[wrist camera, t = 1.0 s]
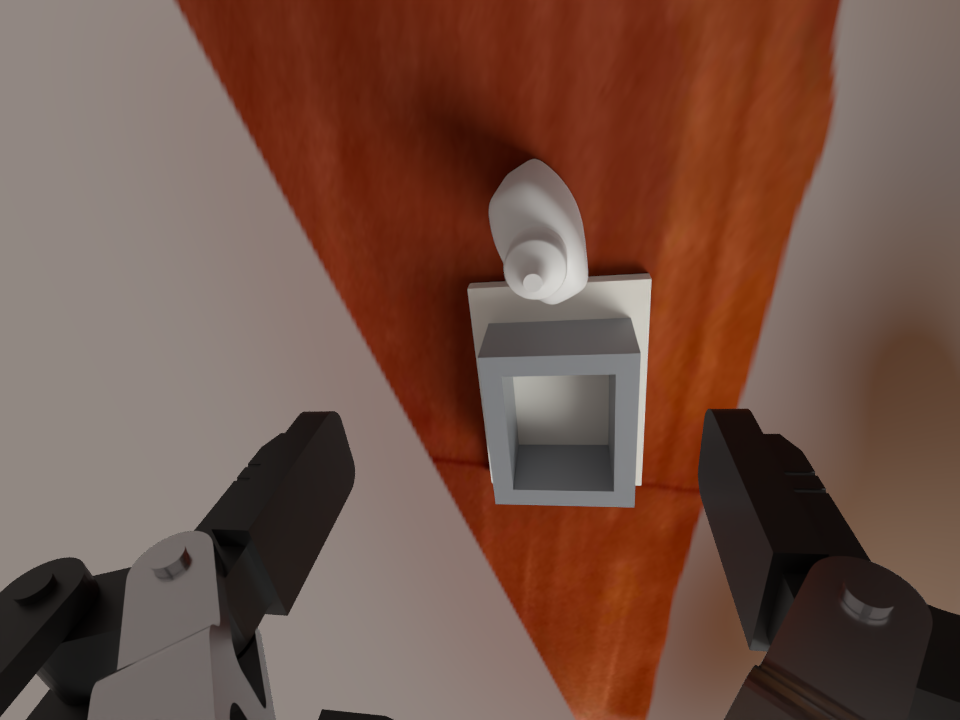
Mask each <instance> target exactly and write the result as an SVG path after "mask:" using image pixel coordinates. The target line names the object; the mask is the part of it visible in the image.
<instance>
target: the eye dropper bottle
mask: <svg viewBox="0 0 960 720" xmlns="http://www.w3.org/2000/svg"><path fill="white" fill-rule="evenodd" d="M489 221H490V227H491V231H492V235H493V239H494V242H495V245H496V248H497V250H498V253H499V255H500V257H501V259H502V261H503V263H504V267H503V268H504V270H503V271H504V275H505V277H504V278H506V280H505V281H507V284H509V285H508V286H509V287H510V289H512V291H515V293H517V295H520V296H522V297H523V298H526V299H529V300H530V299H532V300H533V299H535V300H537V299H538V300H540V301H542V302H544V303H547V304H551V305H552V304H558V303H560V302H562V301H564V300H566V299H568V298H570V297H572V296H574V295H576V294H577V293H579V292H580V291H582V290H583V289H584V288H585V287H586V284H587V280H588V263H587V254H586V245H585V237H584V229H583V223H582V219H581V215H580V212H579V209H578V206H577V204H576V202H575V199H574V197H573V195H572V194H571V192H570V190H569V189H568V187H567V186H566V184H565V183H564V182H563V180H562V179H561V178H560V177H559V176H558V175H557V174H556V173H555V172H554V171H553V170H552V169H551V168H550V167H549V166H547V165H546V164H545V163H543V162H542V161H540V160H537V159H531V160H529V161H527V162H525V163H524V164H522V165H521V166H519V167H517V168H516V169H514V170H513V171H511V172H510V173H509V174H508V175H507V176H506V177H505V178H504V180H503V181H502V183H501V184H500V186H499V187H498V189H497V190H496V192H495V194H494V195H493V197H492V199H491V201H490V204H489Z"/></svg>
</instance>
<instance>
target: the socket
mask: <svg viewBox="0 0 960 720" xmlns="http://www.w3.org/2000/svg"><path fill="white" fill-rule="evenodd" d="M508 285H509V284H507V281H501V282H483V283H470V284H469V286H468V288H467V291H468V299H469V307H470V315H471V322H472V330H473V338H474V346H475V354H476V362H477V370H478V378H479V386H480V393H481V401H482V409H483V417H484V425H485V433H486V441H487V449H488V457H489V464H490V472H491V480H492V483H493V486H494V494H495V502H496V504H519V505H560V506H601V507H634V503H635V485H639V486H641V481H642V461H643V441H644V421H645V400H646V380H647V360H648V339H649V319H650V299H651V277H650V275H649V273H645V274H627V275H609V276H591V277H588V280H587V284H586V287H585V288H584V289H583V290H582V291H580V292H579V293H577V294H576V295H574V296H572V297H570V298H568V299H566V300H564V301H562V302H560V303H558V304H552V305H551V304H547V303H544V302H542V301H540V300H538V299H537V300H535V299H533V300H532V299H530V300H529V299H526V298H523V297H522V296H520V295H517V293H515V291H512V289H510V287H509V286H508Z"/></svg>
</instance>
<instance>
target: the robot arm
mask: <svg viewBox="0 0 960 720" xmlns="http://www.w3.org/2000/svg"><path fill="white" fill-rule="evenodd" d="M354 479H355V466H354V461H353V457H352V454H351V451H350V448H349V444H348V441H347V437H346V434H345V430H344V427H343V424H342V420H341V418H340V416H339V414H338V413H336V412H335V411H329V412H302V413H301V414H300V415H299V416H298V417H297V418H296V420H295V421H294V422H293V424H292V425H291V426H290V427H289V429H288V430H287V432H286V433H281V434H279V435H278V436H276V437H275V438H274V439H272V440H271V441H270V442H268V443H267V444H265V445H264V446H263V447H261V449H260V450H259V451H258V452H257V453H256V455H255V456H254V457H253V458H252V460H251V461H250V462H249V463H248V467H245V468H244V470H243V471H242V472H241V473H240V475H239V476H238V477H237V481H234V482H233V483H232V485H231V486H230V487H229V488H228V489H227V491H226V492H225V493H224V494H223V496H222V497H221V498H220V499H219V501H218V502H217V503H216V504H215V506H214V507H213V508H212V509H211V510H210V512H209V513H208V514H207V515H206V517H205V518H204V519H203V521H202V522H201V523H200V524H199V525H198V527H197V528H196V529H195V530H194V531H187V532H182V533H178V534H175V535H172V536H170V537H168V538H166V539H164V540H162V541H160V542H158V543H157V544H155V545H154V546H153V547H151V548H149V549H148V550H147V551H146V552H144V553H143V554H142V555H141V556H140V557H139V558H138V560H137V561H136V562H135V563H134V564H133V566H132V567H130V568H126V569H122V570H118V571H113V572H109V573H104V574H100V575H95V576H92V575H91V573H90V572H89V570H88V569H87V568H86V566H85V565H84V563H83V562H82V561H81V560H79V559H77V558H70V557H69V558H60V559H56V560H53V561H49V562H47V563H44V564H42V565H40V566H38V567H36V568H33V569H31V570H30V571H28V572H26V573H25V574H23V575H21V576H20V577H19V578H17V579H16V580H14V581H13V582H12V583H10V584H9V585H8V586H7V587H6V588H5V589H4V590H3V591H1V592H0V717H1V715H2V714H3V713H4V712H5V710H6V709H7V708H8V707H9V706H10V705H11V703H12V702H13V701H14V699H15V698H16V697H17V696H18V695H19V694H20V692H21V691H22V690H23V689H24V688H25V686H26V685H27V684H28V683H29V681H30V680H31V679H32V678H33V677H34V675H35V674H37V675H38V676H39V677H40V678H41V679H42V681H43V682H44V683H45V684H46V685H47V686H48V687H49V688H50V690H49V691H48V692H47V693H46V695H45V696H44V697H43V698H42V700H41V701H40V703H39V704H38V705H37V706H36V707H35V709H34V710H33V711H32V713H31V714H30V715H29V716H28V718H27V719H26V720H276V718H275V712H274V707H273V701H272V695H271V689H270V683H269V678H268V672H267V667H266V660H265V655H264V649H263V643H262V637H261V634H260V631H259V630H258V625H259V624H260V622H261V620H262V618H263V616H264V615H265V614H272V615H286V616H287V615H288V614H289V612H290V610H291V608H292V606H293V604H294V602H295V600H296V598H297V596H298V594H299V592H300V590H301V588H302V586H303V584H304V582H305V580H306V578H307V577H308V575H309V572H310V571H311V569H312V567H313V565H314V563H315V561H316V559H317V557H318V555H319V553H320V551H321V549H322V547H323V545H324V543H325V541H326V539H327V537H328V535H329V533H330V531H331V529H332V527H333V525H334V523H335V521H336V520H337V517H338V516H339V514H340V512H341V510H342V508H343V506H344V504H345V502H346V500H347V498H348V496H349V494H350V492H351V490H352V487H353V484H354ZM698 481H699V490H700V495H701V499H702V502H703V505H704V508H705V512H706V515H707V517H708V521H709V524H710V527H711V530H712V533H713V537H714V540H715V543H716V546H717V549H718V552H719V555H720V558H721V562H722V565H723V568H724V571H725V574H726V577H727V580H728V583H729V586H730V590H731V593H732V596H733V599H734V602H735V605H736V609H737V612H738V615H739V618H740V621H741V624H742V627H743V631H744V634H745V637H746V640H747V643H748V646H749V649H750V650H754V651H767V653H766V655H765V657H764V659H763V661H762V662H761V664H760V665H759V666H757V665H755V666H754V667H753V668H752V669H751V671H750V672H749V674H748V675H747V677H746V679H745V681H744V683H743V684H742V687H741V688H740V690H739V692H738V694H737V696H736V698H735V700H734V701H733V703H732V705H731V707H730V709H729V711H728V713H727V715H726V716H725V718H724V720H960V615H957V614H953V613H950V612H947V611H944V610H941V609H938V608H935V607H933V606H931V605H928V604H926V602H925V600H924V599H923V597H922V596H921V595H920V594H919V593H918V592H917V590H916V589H914V588H913V587H912V586H911V585H910V584H909V583H908V582H907V581H905V580H904V579H903V578H901V577H900V576H899V575H897V574H895V573H894V572H892V571H890V570H889V569H887V568H885V567H883V566H881V565H878V564H876V563H873V562H871V560H870V559H869V557H868V556H867V554H866V553H865V551H864V549H863V548H862V547H861V545H860V543H859V541H858V540H857V538H856V537H855V535H854V533H853V532H852V530H851V529H850V527H849V525H848V524H847V522H846V521H845V519H844V518H843V516H842V514H841V513H840V511H839V509H838V508H837V506H836V505H835V503H834V501H833V500H832V498H831V497H830V495H829V494H828V493H826V489H825V487H824V485H823V484H822V482H821V481H820V479H819V477H818V476H815V471H814V469H813V468H812V466H811V464H810V463H809V461H808V460H807V458H806V456H805V455H804V454H803V452H802V451H801V450H800V449H799V448H797V447H796V446H794V445H793V444H792V443H791V442H789V441H788V440H787V439H785V438H784V437H783V436H782V435H780V434H763V432H762V431H761V429H760V427H759V425H758V423H757V421H756V420H755V418H754V416H753V414H752V412H751V411H750V410H749V409H708V410H707V411H706V414H705V418H704V426H703V434H702V442H701V451H700V459H699V467H698ZM318 720H393V719H391V718H389V717H387V716H381V715H370V714H361V713H352V712H342V711H333V710H323V709H322V711H321V714H320V716H319V719H318Z"/></svg>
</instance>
